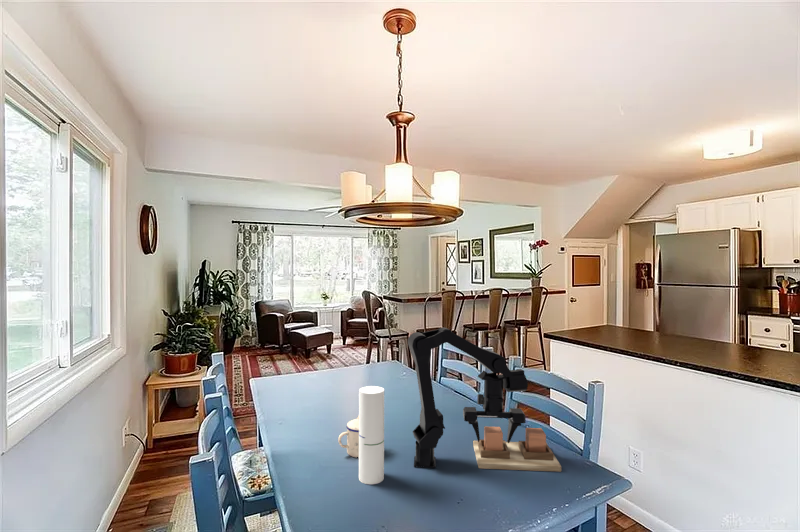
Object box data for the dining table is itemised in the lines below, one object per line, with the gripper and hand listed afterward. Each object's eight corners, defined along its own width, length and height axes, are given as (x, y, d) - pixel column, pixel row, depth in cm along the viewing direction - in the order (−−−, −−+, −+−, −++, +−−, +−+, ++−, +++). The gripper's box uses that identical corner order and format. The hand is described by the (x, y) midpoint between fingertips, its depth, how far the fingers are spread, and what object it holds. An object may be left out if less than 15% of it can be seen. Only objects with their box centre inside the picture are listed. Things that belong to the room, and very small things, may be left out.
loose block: (502, 455, 128) (502, 433, 128) (486, 455, 129) (486, 432, 129) (499, 448, 133) (499, 426, 133) (484, 448, 134) (484, 426, 134)
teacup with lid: (368, 443, 140) (368, 409, 140) (379, 454, 132) (379, 418, 132) (333, 450, 135) (334, 415, 135) (343, 462, 126) (343, 424, 126)
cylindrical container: (370, 468, 123) (371, 384, 123) (389, 476, 118) (389, 389, 118) (353, 478, 117) (353, 390, 117) (371, 487, 113) (372, 395, 113)
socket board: (561, 471, 122) (561, 442, 122) (478, 468, 124) (478, 439, 123) (546, 447, 138) (546, 422, 138) (473, 444, 139) (473, 419, 139)
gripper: (518, 385, 138) (518, 432, 138) (461, 384, 140) (461, 430, 140) (526, 396, 127) (525, 447, 127) (464, 394, 129) (464, 445, 129)
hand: (493, 441), depth 131 cm, fingers open, 9 cm apart
